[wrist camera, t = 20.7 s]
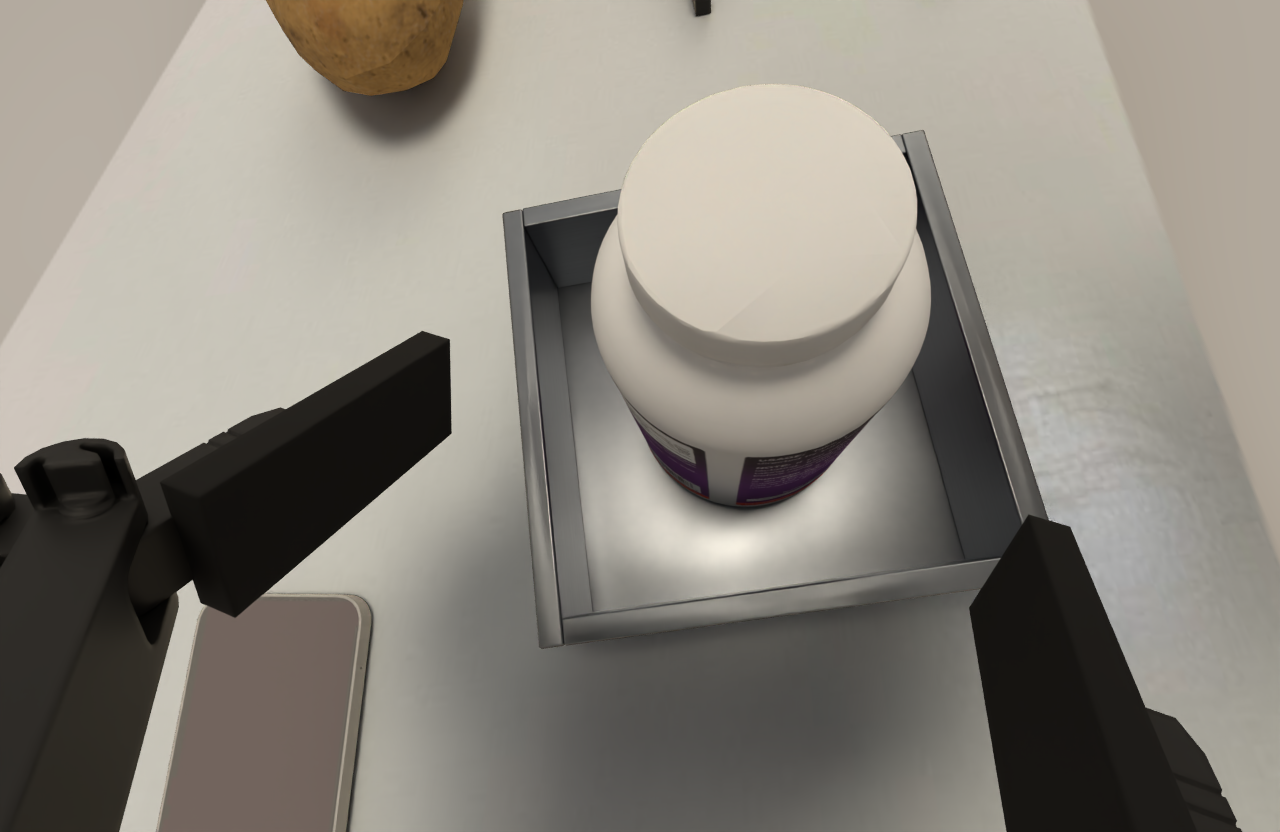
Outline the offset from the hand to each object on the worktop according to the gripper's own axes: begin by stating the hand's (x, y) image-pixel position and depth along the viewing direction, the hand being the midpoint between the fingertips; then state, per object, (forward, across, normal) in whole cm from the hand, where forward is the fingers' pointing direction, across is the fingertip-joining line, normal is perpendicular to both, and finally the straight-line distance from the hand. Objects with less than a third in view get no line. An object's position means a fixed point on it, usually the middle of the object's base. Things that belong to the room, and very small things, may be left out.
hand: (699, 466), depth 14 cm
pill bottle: (+11, 0, -4) cm, 12 cm away
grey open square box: (+12, 0, -5) cm, 13 cm away
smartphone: (-3, -13, -19) cm, 24 cm away
